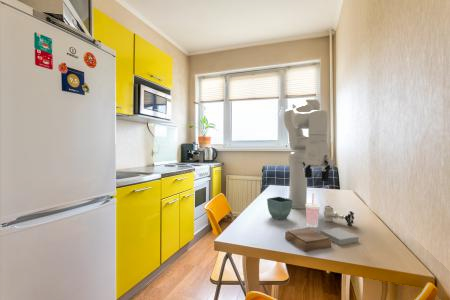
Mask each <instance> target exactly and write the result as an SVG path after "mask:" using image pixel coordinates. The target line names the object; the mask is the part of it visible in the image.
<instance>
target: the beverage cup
mask: <svg viewBox="0 0 450 300" xmlns="http://www.w3.org/2000/svg"><path fill="white" fill-rule="evenodd" d="M314 194H315V193H312V197H311V198H312V202H310V203H307V202H306V204H305V207H306V209H305V213H306V214H305V215H306V216H305V219H306V220H305V221H306V222H305V223H306V226H307V227H308V228H318V226H319V214H320V209H321V205H320V204H317V203H314V200H315V199H314Z"/></svg>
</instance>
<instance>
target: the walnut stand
mask: <svg viewBox="0 0 450 300" xmlns="http://www.w3.org/2000/svg"><path fill="white" fill-rule="evenodd" d="M284 233H285V234H284V236H285V237H284V239H285V240H287V241H289V242H291V243H292V244H293V245H294V246H296V247H298V248H299V249H301V250H302V251H304V252H307V253H308V252H311V251H316V250H317V251H318V250H322V249H327V248H331V247H332V241H331V240H330V239H329V238H328V237H326V236H324V235H323V234H321V232H319V231H316V230H315V229H313V228H312V227H303V228H296V229H289V230H287V231H285V232H284Z"/></svg>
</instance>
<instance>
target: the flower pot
mask: <svg viewBox="0 0 450 300" xmlns="http://www.w3.org/2000/svg"><path fill="white" fill-rule="evenodd" d="M286 198H287V197H281V196H276V197H275V196H274V197H270V198H269V197H268V198H266V201H267V202H266V203H267V210H268V212H269V215H270V216H271V218H274V219H277V220H279V221H281V220H285V219H287V218H288V217H289V216H290V213H291V212H292V208H291V207H292V201H293V200H290V199H286Z"/></svg>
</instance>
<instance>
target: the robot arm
mask: <svg viewBox="0 0 450 300" xmlns="http://www.w3.org/2000/svg"><path fill="white" fill-rule="evenodd" d="M291 107H292V108H288V109H286V110H285V111H284V113H283V122H284V123H283V124H284V126H285V128H286V130H287V133H288V142H289V149H290V150H291V151H292V152H290V153H289V155H288V167H289V189H288V190H289V192H288V196H287V197H285V198H286V199H290V200H293V201H292V207H291V209H295V210H296V209H297V210H306V207H305V204H307V201H308V199H307V197H308V195H307V194H308V178H312V175H313V174H312V173H313V171H312V170H313V169H318V168H321V169H322V171H321V181H322V182H328V181H330V179H329V176H330V175H329V172H331V169H332V168H333V166H334V164H335V161H334V160H333V159H332V158H331V157H330V150H329V149H330V148H329V143H328V126H329V125H328V120H329V113H328V111H327V110H324V109H321V103H320V101H319V100H318V99H316V98H298V99H296V100H295V101H293V103H292V106H291ZM303 129H304V130H305V129H307V130H308V134H307V135H304V131H303Z"/></svg>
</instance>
